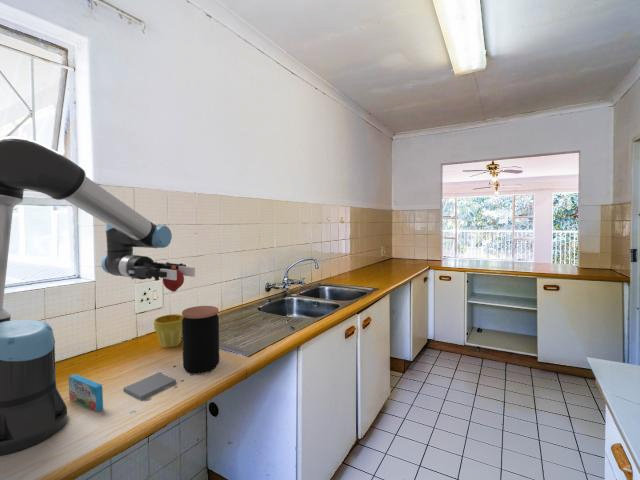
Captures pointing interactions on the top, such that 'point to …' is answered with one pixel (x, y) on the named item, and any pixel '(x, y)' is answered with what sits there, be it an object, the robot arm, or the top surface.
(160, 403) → the top surface
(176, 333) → the plant pot
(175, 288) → the onion
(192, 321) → the coffee jar
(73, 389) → the blue flat box
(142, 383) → the slate trivet
